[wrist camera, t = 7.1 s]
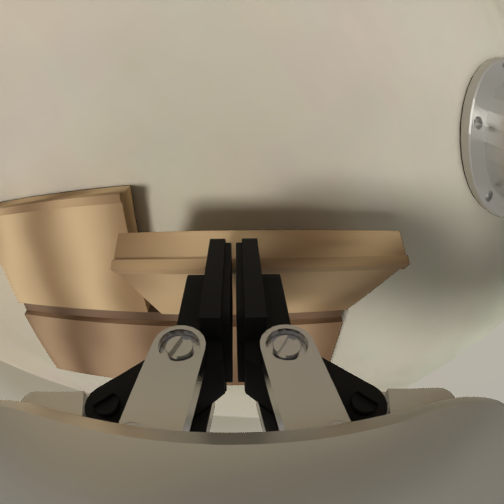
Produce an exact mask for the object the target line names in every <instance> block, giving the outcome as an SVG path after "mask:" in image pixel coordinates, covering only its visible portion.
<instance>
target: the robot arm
mask: <svg viewBox="0 0 504 504" xmlns="http://www.w3.org/2000/svg"><path fill="white" fill-rule="evenodd" d="M461 150H462V160H463V166H464V171H465V175H466V178H467V181H468V185H469V187H470V189H471V191H472V193H473V195H474V197H475V199H476V200H477V201H478V202H479V204H480V205H481V206H482V207H484V208H485V209H486V210H488V211H489V212H490V213H492V214H494V215H496V216H498V217H504V57H495V58H492V59H489V60H487V61H486V62H485V63H483V64H482V65H481V66H480V67H479V68H478V70H477V71H476V73H475V74H474V76H473V78H472V80H471V82H470V85H469V87H468V89H467V93H466V97H465V101H464V105H463V113H462V120H461ZM236 330H237V367H238V382H244V383H245V393H246V394H248V395H249V396H250V397H252V398H253V399H254V400H256V407H257V410H258V414H259V418H260V422H261V426H262V430H263V432H249V433H248V432H247V433H213V432H210V427H211V423H212V418H213V413H214V408H215V401H216V400H217V399H218V398H220V397H221V396H222V395H223V394H225V391H226V389H227V382H233V291H232V246H231V243H226V240H225V239H210V242H209V248H208V254H207V261H206V267H205V274H204V275H188V276H187V279H186V284H185V288H184V293H183V297H182V302H181V307H180V312H179V316H178V321H177V326H172V327H169V328H167V329H164V330H163V331H161V332H160V333H159V334H158V335H157V336H156V338H155V339H154V341H153V343H152V345H151V348H150V350H149V352H148V354H147V357H146V359H145V360H143V361H142V362H140V363H139V364H137V365H135V366H134V367H132V368H130V369H129V370H127V371H125V372H124V373H122V374H120V375H119V376H117V377H115V378H114V379H112V380H110V381H109V382H107V383H105V384H104V385H102V386H100V387H99V388H97V389H95V390H94V391H93V392H92V393H91V394H85V392H84V391H79V392H78V391H77V392H31V393H29V394H27V395H26V396H25V397H24V398H23V399H22V400H21V402H20V401H11V400H0V504H504V404H503V403H502V402H500V401H497V400H494V399H490V398H485V397H484V398H483V397H459V398H455V397H454V396H453V395H452V393H451V392H449V391H448V390H446V389H443V388H419V389H388V390H387V391H386V392H381V391H380V390H379V389H377V388H376V387H374V386H373V385H371V384H369V383H367V382H365V381H363V380H362V379H360V378H358V377H356V376H354V375H353V374H351V373H349V372H347V371H345V370H344V369H342V368H340V367H338V366H337V365H335V364H333V363H331V362H329V361H328V360H326V359H324V358H323V357H321V355H320V353H319V351H318V349H317V347H316V345H315V343H314V340H313V339H312V337H311V336H310V334H309V333H308V332H306V331H305V330H304V329H302V328H300V327H297V326H294V325H291V323H290V318H289V313H288V308H287V304H286V299H285V294H284V289H283V285H282V280H281V276H280V274H262V271H261V263H260V256H259V248H258V240H257V238H242V242H236Z"/></svg>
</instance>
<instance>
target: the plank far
mask: <svg viewBox="0 0 504 504" xmlns="http://www.w3.org/2000/svg"><path fill="white" fill-rule="evenodd" d="M118 233H138V229H137V224H136V218H135V213H134V207H133V201H132V194H131V188H130V186H119V187H108V188H98V189H89V190H80V191H72V192H64V193H56V194H49V195H42V196H36V197H29V198H23V199H17V200H12V201H6V202H1V203H0V263H1V266H2V268H3V270H4V272H5V275H6V277H7V279H8V281H9V283H10V285H11V288H12V290H13V292H14V294H15V296H16V298H17V300H18V301H19V303H27V304H36V305H46V306H56V307H68V308H80V309H94V310H110V311H129V312H148V310H149V307H150V303H149V302H148V301H147V300H146V299H145V298H144V297H143V296H142V295H141V294H140V293H139V292H137V291H136V290H135V289H134V288H133V287H132V286H131V285H130V284H129V283H128V282H127V281H126V280H125V279H124V278H123V277H122V276H121V275H120V274H115V273H114V272H113V271H112V270H111V262H112V260H114V254H115V248H116V243H117V237H118Z"/></svg>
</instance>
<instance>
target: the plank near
mask: <svg viewBox="0 0 504 504" xmlns="http://www.w3.org/2000/svg"><path fill="white" fill-rule="evenodd" d="M242 238H257V240H258V248H259V256H260V263H261V271H262V274H280V276H281V280H282V285H283V289H284V294H285V299H286V304H287V308H288V313H300V312H319V311H335V310H347V309H348V308H350V307H351V306H352V305H354V304H355V303H356V302H358V301H359V300H360V299H362V298H363V297H364V296H366V295H367V294H368V293H370V292H371V291H372V290H374V289H375V288H376V287H377V286H379V285H380V284H381V283H383V282H384V281H385V280H386V279H388V278H389V277H390V276H391V275H393V274H394V273H395V272H396V271H397V270H399V269H404V268H406V267H407V266H408V265H409V264H410V263H409V259H408V255H405V251H404V247H403V243H402V239H401V235H400V231H375V230H227V231H175V232H140V233H118V237H117V243H116V248H115V254H114V260H112V262H111V270H112V271H113V272H114V273H115V274H120V275H121V276H122V277H123V278H124V279H125V280H126V281H127V282H128V283H129V284H130V285H131V286H132V287H133V288H134V289H135V290H136V291H137V292H139V293H140V294H141V295H142V296H143V297H144V298H145V299H146V300H147V301H148V302H149V303H150V304H152V305H153V306H154V307H155V308H156V309H157V310H158V311H159V312H160V313H162V314H179V312H180V307H181V302H182V297H183V293H184V288H185V284H186V279H187V276H188V275H204V274H205V267H206V261H207V254H208V248H209V242H210V239H225V240H226V243H231V246H232V291H233V315H236V242H242Z"/></svg>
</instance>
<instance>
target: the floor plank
mask: <svg viewBox="0 0 504 504" xmlns="http://www.w3.org/2000/svg"><path fill="white" fill-rule="evenodd" d="M24 305H25V307H26V309H27V311H26V313H25V316H26V318H27V319H28V321H29V323H30V325H31V327H32V328H33V330H34V332H35V334H36V335H37V337H38V339H39V340H40V342H41V344H42V345H43V347H44V348H45V350H46V351H47V353H48V355H49V356H50V358H51V359H52V361H53V362H54V364H55V365H56V367H57V368H59V369H64V370H69V371H74V372H79V373H85V374H91V375H97V376H104V377H111V378H115V377H117V376H119V375H120V374H122V373H124V372H125V371H127V370H129V369H130V368H132V367H134V366H135V365H137V364H139V363H140V362H142V361H143V360H145V359H146V357H147V354H148V352H149V350H150V348H151V345H152V343H153V341H154V339H155V338H156V336H157V335H158V334H159V333H160V332H161V331H163V330H164V329H167V328H169V327H172V326H177V321H178V316H179V314H162V313H160V312H159V311H158V310H157V309H156V308H155V307H154V306H153V305H152V304H150V307H149V310H148V312H129V311H110V310H94V309H80V308H68V307H56V306H46V305H36V304H27V303H24ZM342 311H343V310H335V311H319V312H300V313H289V318H290V323H291V325H294V326H297V327H300V328H302V329H304V330H305V331H306V332H308V333H309V334H310V336H311V337H312V339H313V340H314V343H315V345H316V347H317V349H318V351H319V353H320V355H321V357H323V358H324V359H326V360H328V361H329V362H330V360H331V357H332V354H333V351H334V348H335V345H336V342H337V339H338V336H339V332H340V329H341V326H342V322H343V321H342V319H341V314H342ZM227 385H245V383H244V382H238V367H237V330H236V315H233V382H227Z"/></svg>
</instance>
